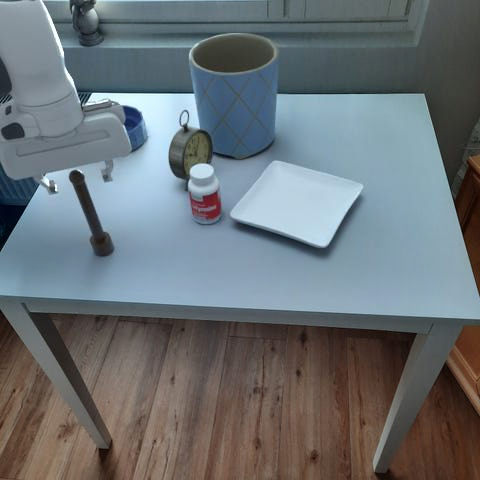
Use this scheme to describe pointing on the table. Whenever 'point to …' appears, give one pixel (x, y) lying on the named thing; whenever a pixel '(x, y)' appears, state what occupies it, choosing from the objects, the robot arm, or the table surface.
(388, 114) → the table surface
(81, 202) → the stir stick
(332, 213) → the salad plate
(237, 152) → the planter
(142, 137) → the bowl
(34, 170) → the robot arm
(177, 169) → the alarm clock
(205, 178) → the pill bottle
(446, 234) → the table surface
